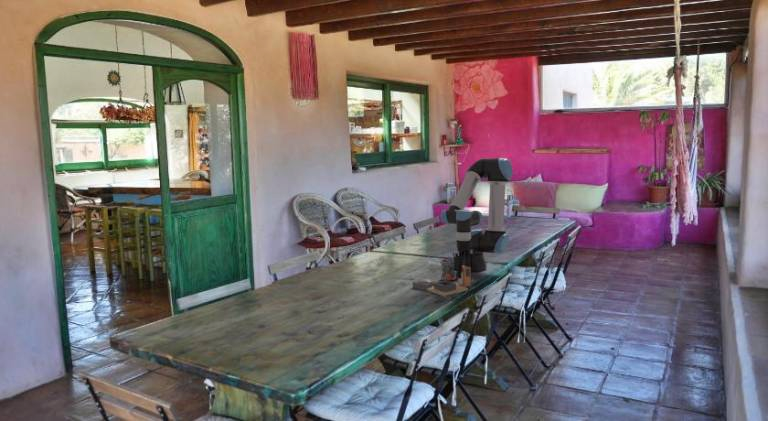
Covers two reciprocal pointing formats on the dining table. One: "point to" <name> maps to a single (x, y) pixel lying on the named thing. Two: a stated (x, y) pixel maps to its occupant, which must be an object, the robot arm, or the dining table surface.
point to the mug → (448, 269)
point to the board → (446, 288)
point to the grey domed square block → (424, 283)
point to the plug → (466, 276)
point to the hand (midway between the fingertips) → (464, 283)
